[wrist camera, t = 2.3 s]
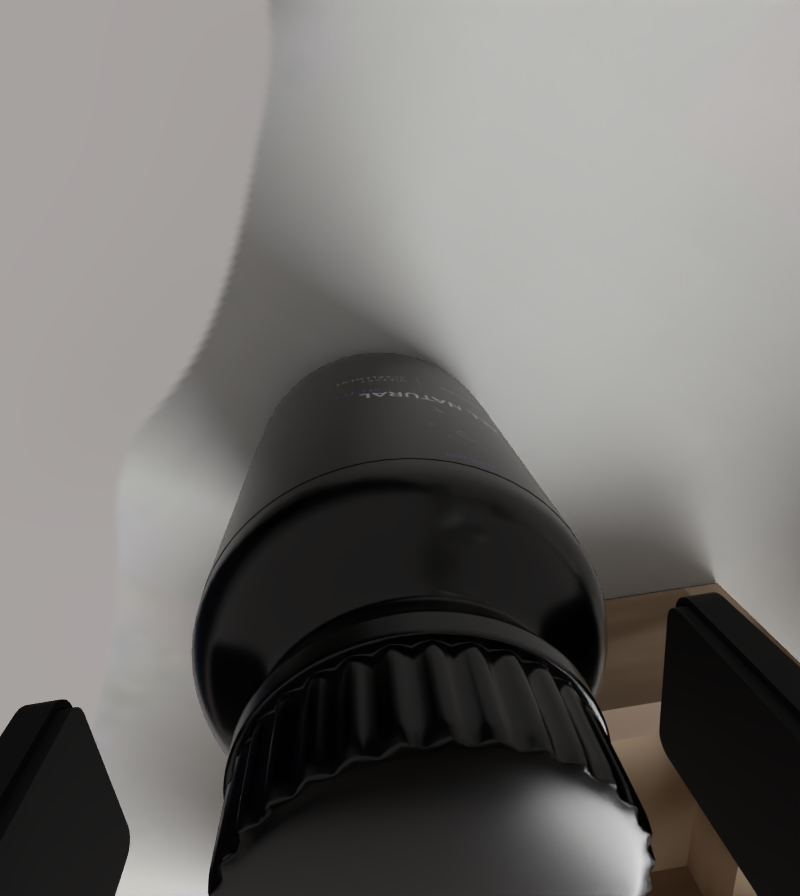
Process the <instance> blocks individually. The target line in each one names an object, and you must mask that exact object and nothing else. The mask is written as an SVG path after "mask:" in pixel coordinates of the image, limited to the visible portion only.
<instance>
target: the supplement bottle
mask: <svg viewBox="0 0 800 896" xmlns="http://www.w3.org/2000/svg"><path fill="white" fill-rule="evenodd" d="M607 651H608V622H607V612H606V606H605V602H604V597H603V593H602V589H601V586H600V583H599V581H598V578H597V575H596V572H595V570H594V569H593V567H592V565H591V563H590V561H589V559H588V557H587V555H586V553H585V552H584V550H583V548H582V547H581V545H580V543H579V541H578V540H577V538H576V537H575V535H574V534H573V533H572V531H571V530H570V528H569V527H568V525H567V524H566V522H565V521H564V519H563V518H562V517H561V515H560V514H559V512H558V511H557V510H556V508H555V507H554V506H553V504H552V503H551V501H550V500H549V499H548V497H547V496H546V494H545V493H544V492H543V490H542V489H541V487H540V486H539V485H538V483H537V482H536V480H535V479H534V478H533V476H532V475H531V474H530V472H529V471H528V469H527V468H526V467H525V465H524V464H523V462H522V461H521V460H520V458H519V457H518V455H517V454H516V453H515V451H514V450H513V449H512V447H511V446H510V444H509V443H508V442H507V440H506V439H505V437H504V436H503V435H502V433H501V432H500V430H499V429H498V428H497V426H496V425H495V424H494V422H493V421H492V419H491V418H490V417H489V415H488V414H487V412H486V411H485V410H484V408H483V407H482V406H481V405H480V403H479V402H478V401H477V400H476V398H475V397H474V396H473V395H472V394H471V393H470V391H469V390H468V389H467V388H466V387H464V386H463V385H462V384H461V383H460V382H459V381H458V380H456V379H455V378H454V377H453V376H451V375H450V374H448V373H447V372H445V371H444V370H442V369H440V368H439V367H437V366H434V365H432V364H430V363H428V362H425V361H423V360H420V359H417V358H413V357H410V356H406V355H399V354H391V353H368V354H361V355H355V356H351V357H347V358H343V359H340V360H337V361H334V362H332V363H330V364H327V365H325V366H323V367H321V368H319V369H318V370H316V371H314V372H312V373H311V374H309V375H308V376H307V377H305V378H304V379H303V380H301V381H300V382H299V383H298V384H297V385H296V386H295V387H293V388H292V389H291V390H290V392H289V393H288V394H287V395H286V396H285V397H284V398H283V400H282V401H281V402H280V404H279V405H278V407H277V408H276V409H275V411H274V413H273V415H272V416H271V418H270V420H269V422H268V424H267V427H266V429H265V431H264V433H263V435H262V438H261V440H260V443H259V445H258V448H257V450H256V453H255V456H254V458H253V461H252V463H251V466H250V469H249V471H248V474H247V477H246V479H245V482H244V484H243V487H242V490H241V492H240V495H239V497H238V500H237V503H236V505H235V508H234V511H233V513H232V516H231V518H230V521H229V524H228V526H227V529H226V532H225V534H224V537H223V539H222V542H221V545H220V547H219V550H218V553H217V555H216V558H215V560H214V563H213V566H212V568H211V571H210V574H209V576H208V579H207V582H206V585H205V588H204V591H203V594H202V598H201V602H200V605H199V608H198V612H197V616H196V620H195V626H194V631H193V640H192V667H193V676H194V682H195V687H196V692H197V696H198V699H199V702H200V705H201V708H202V711H203V714H204V717H205V719H206V721H207V723H208V725H209V727H210V729H211V731H212V733H213V735H214V737H215V739H216V740H217V742H218V743H219V745H220V747H221V748H222V750H223V751H224V753H225V754H226V755H227V757H228V759H227V764H226V769H225V775H224V786H223V797H224V804H223V808H222V813H221V818H220V823H219V827H218V832H217V837H216V842H215V847H214V851H213V856H212V861H211V866H210V872H209V882H208V894H209V896H648V894H649V893H650V891H651V890H652V884H651V880H650V873H651V871H652V869H653V868H654V865H655V863H656V857H655V853H654V850H653V847H652V844H651V838H652V830H651V826H650V823H649V820H648V817H647V815H646V812H645V810H644V808H643V806H642V804H641V802H640V800H639V798H638V796H637V794H636V792H635V790H634V788H633V786H632V784H631V782H630V780H629V778H628V776H627V774H626V772H625V770H624V768H623V766H622V764H621V762H620V760H619V758H618V756H617V754H616V752H615V750H614V748H613V746H612V744H611V739H610V734H609V730H608V727H607V724H606V721H605V719H604V716H603V714H602V712H601V709H600V707H599V706H598V704H597V702H596V699H597V696H598V694H599V691H600V688H601V684H602V680H603V676H604V672H605V666H606V659H607Z"/></svg>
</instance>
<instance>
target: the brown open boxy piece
mask: <svg viewBox="0 0 800 896" xmlns="http://www.w3.org/2000/svg"><path fill="white" fill-rule="evenodd" d="M710 592H716V593H719V594H720V595H722V596H723V597H724V598H725V599H727V600H728V601H729V602H730V603H731V604H732V605H733V606H734V607H735V608H736V609H737V610H739V611H740V612H741V613H742V614H743V615H744V616H745V617H746V618H747V619H748V620H749V621H750V622H752V623H753V624H754V625H755V626H756V627H757V628H758V629H759V630H760V631H761V632H762V633H764V634H765V635H766V636H767V637H768V638H769V639H770V640H771V641H772V642H773V643H774V644H776V645H777V646H778V647H779V648H780V649H781V650H782V651H783V652H784V653H785V654H786V655H788V656H789V657H790V658H791V659H792V660H793V661H794V662H795V663H796V664H797V665H798V666H800V663H799V662H798V661H797V660H796V659H795V658H794V657H793V656H792V655H791V654H790V653H789V652H788V651H787V650H786V649H785V648H784V647H783V646H782V645H781V644H780V643H779V642H778V641H777V640H776V639H775V638H774V637H773V636H771V635H770V634H769V633H768V632H767V631H766V630H765V629H764V628H763V627H762V626H761V625H760V624H759V623H758V622H757V621H756V620H755V619H754V618H753V617H752V616H751V615H750V614H749V613H748V612H747V611H746V610H745V609H743V608H742V607H741V606H740V605H739V604H738V603H737V602H736V601H735V600H734V599H733V598H732V597H731V596H730V595H729V594H728V593H727V592H726V591H725V590H724V589H723V588H722V587H721V586H720V585H719V584H718V583H715V584H708V585H702V586H695V587H689V588H682V589H676V590H669V591H663V592H656V593H649V594H643V595H636V596H630V597H623V598H617V599H610V600H604V602H605V606H606V612H607V622H608V651H607V659H606V666H605V672H604V676H603V680H602V684H601V688H600V691H599V694H598V696H597V699H596V702H597V704H598V706H599V707H600V709H601V712H602V714H603V716H604V719H605V721H606V724H607V727H608V730H609V734H610V739H611V744H612V746H613V748H614V750H615V752H616V754H617V756H618V758H619V760H620V762H621V764H622V766H623V768H624V770H625V772H626V774H627V776H628V778H629V780H630V782H631V784H632V786H633V788H634V790H635V792H636V794H637V796H638V798H639V800H640V802H641V804H642V806H643V808H644V810H645V812H646V815H647V817H648V820H649V823H650V826H651V830H652V838H651V844H652V847H653V850H654V853H655V857H656V863H655V865H654V868H653V869H652V871H651V873H650V880H651V884H652V890H651V891H650V893H649V894H648V896H757V894H756V893H755V891H754V890H753V888H752V887H751V885H750V883H749V882H748V880H747V879H746V877H745V876H744V874H743V873H742V871H741V870H740V868H739V867H738V865H737V863H736V862H735V860H734V859H733V857H732V856H731V854H730V853H729V851H728V850H727V848H726V846H725V845H724V843H723V842H722V840H721V839H720V837H719V836H718V834H717V833H716V831H715V830H714V828H713V826H712V825H711V823H710V822H709V820H708V819H707V817H706V816H705V814H704V813H703V811H702V809H701V808H700V806H699V805H698V803H697V802H696V800H695V799H694V797H693V796H692V794H691V793H690V791H689V789H688V788H687V786H686V785H685V783H684V782H683V780H682V779H681V777H680V776H679V774H678V772H677V771H676V769H675V768H674V766H673V765H672V763H671V762H670V760H669V759H668V757H667V755H666V753H665V751H664V749H663V747H662V744H661V740H660V735H659V725H660V711H661V698H662V684H663V670H664V656H665V642H666V629H667V616H668V612H669V610H670V609H672V608H675V607H676V602H677V601H678V599H679V598H682V597H686V596H692V595H698V594H704V593H710Z"/></svg>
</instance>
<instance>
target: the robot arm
mask: <svg viewBox="0 0 800 896" xmlns="http://www.w3.org/2000/svg"><path fill="white" fill-rule="evenodd" d="M659 735H660V740H661V744H662V747H663V749H664V751H665V753H666V755H667V757H668V759H669V760H670V762H671V763H672V765H673V766H674V768H675V769H676V771H677V772H678V774H679V776H680V777H681V779H682V780H683V782H684V783H685V785H686V786H687V788H688V789H689V791H690V793H691V794H692V796H693V797H694V799H695V800H696V802H697V803H698V805H699V806H700V808H701V809H702V811H703V813H704V814H705V816H706V817H707V819H708V820H709V822H710V823H711V825H712V826H713V828H714V830H715V831H716V833H717V834H718V836H719V837H720V839H721V840H722V842H723V843H724V845H725V846H726V848H727V850H728V851H729V853H730V854H731V856H732V857H733V859H734V860H735V862H736V863H737V865H738V867H739V868H740V870H741V871H742V873H743V874H744V876H745V877H746V879H747V880H748V882H749V883H750V885H751V887H752V888H753V890H754V891H755V893H756V894H757V896H800V666H798V665H797V664H796V663H795V662H794V661H793V660H792V659H791V658H790V657H789V656H788V655H786V654H785V653H784V652H783V651H782V650H781V649H780V648H779V647H778V646H777V645H776V644H774V643H773V642H772V641H771V640H770V639H769V638H768V637H767V636H766V635H765V634H764V633H762V632H761V631H760V630H759V629H758V628H757V627H756V626H755V625H754V624H753V623H752V622H750V621H749V620H748V619H747V618H746V617H745V616H744V615H743V614H742V613H741V612H740V611H739V610H737V609H736V608H735V607H734V606H733V605H732V604H731V603H730V602H729V601H728V600H727V599H725V598H724V597H723V596H722V595H720V594H719V593H716V592H710V593H704V594H698V595H692V596H686V597H682V598H679V599H678V601H677V602H676V607H675V608H672V609H670V610H669V612H668V616H667V629H666V642H665V656H664V670H663V684H662V698H661V711H660V725H659ZM129 845H130V833H129V828H128V825H127V822H126V820H125V817H124V814H123V812H122V809H121V807H120V804H119V802H118V799H117V796H116V794H115V791H114V789H113V786H112V784H111V781H110V779H109V776H108V773H107V771H106V768H105V766H104V763H103V761H102V758H101V756H100V753H99V750H98V748H97V745H96V743H95V740H94V738H93V735H92V732H91V730H90V727H89V725H88V722H87V720H86V717H85V715H84V712H83V711H82V709H80V708H79V707H74V708H73V707H72V705H71V704H70V702H68V701H67V700H62V699H61V700H55V701H49V702H43V703H37V704H31V705H25V706H23V707H21V708H20V709H19V710H18V711H17V712H16V713H15V715H14V716H13V718H12V719H11V721H10V722H9V724H8V725H7V727H6V729H5V730H4V732H3V733H2V735H1V736H0V896H115V893H116V890H117V887H118V884H119V881H120V878H121V875H122V872H123V869H124V865H125V862H126V859H127V856H128V852H129Z"/></svg>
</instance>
